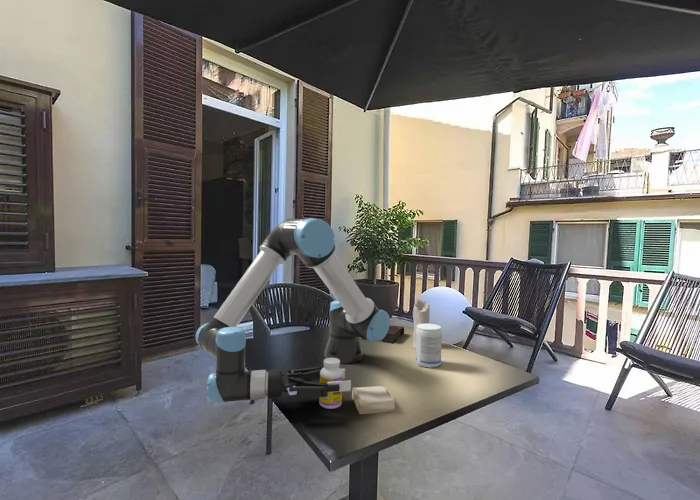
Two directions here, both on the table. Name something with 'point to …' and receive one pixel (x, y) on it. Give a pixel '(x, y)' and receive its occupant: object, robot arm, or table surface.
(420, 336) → the supplement tub
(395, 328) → the diary
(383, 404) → the birch plinth
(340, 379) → the supplement bottle
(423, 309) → the candle
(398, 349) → the table surface
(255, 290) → the robot arm
